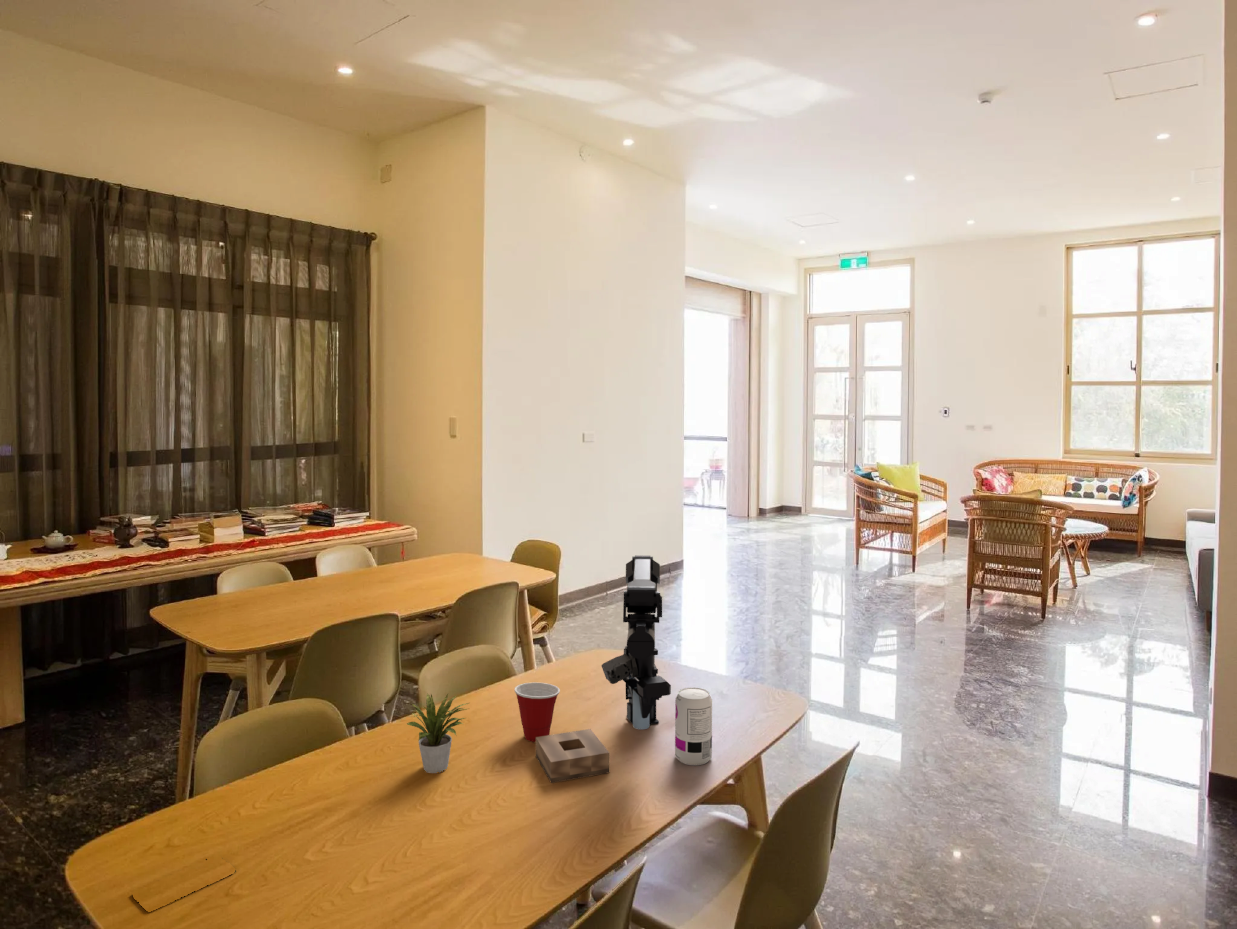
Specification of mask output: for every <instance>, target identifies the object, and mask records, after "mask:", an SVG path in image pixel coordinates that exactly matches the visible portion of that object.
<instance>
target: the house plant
mask: <svg viewBox="0 0 1237 929" xmlns="http://www.w3.org/2000/svg"><path fill="white" fill-rule="evenodd" d="M457 696H458V695H457V694H456V695H454V696H452V697H451V698H450V699H448V697H449V693H447V695H446V696H445V697H444V698H443V700H442V701H441V703H440V704H439V707H438V708H437V711H436V704H435V702H434V697H433V695H432V693H430V694H429V693H426V699H425V700H426V707H425V706H423V708H424V709H425V710H426V715H425V713H424V712H423V711H422V709H421V708H420V707H419V706H417V705H416V704H414V703H413V704H412V703H411V705H412V707H413V708H415V711H416V712H417V714H415V713H413V712H412V713H411V714H412V715H413V718H415V717H416V718H417V719H418V721H420V722H421V723H422V724H423V725H421V724H419V723H418V722H416V721H409V722H407V723H406V726H407V725H408V726H412V727H414V728H418V729H419V730H421V731H419V733H418V748H419V751H420V757H421V761H422V762H421V763H422V767H423V770H425V771H426V772H425V771H424V772H425V773H428V774H438V773H437V772H439V773H442V772H444V771H446V770H447V769H448V768H449V762H450V754H451V747H452V736H451V735H450V734H448V732H450V733H453V734H454V735H455V736H457V732H456V729H455V728H453V727H455V726H459V725H464V722H461V721H462V720H465V719H466V717H462V718H458V717H452V715H454V714H456V713H458V712H461V711H467V710H470V708H464V707H462V706H466V705H468V704H470V702H468V703H462V704H460V705H459V704H458V705H457V706H455V707H454V708H452V709H451V710H450V708H451V707H452V704H453V702H454V700H455V699H456V697H457ZM447 699H448V701H447ZM419 716H420V717H421V718H419ZM451 717H452V718H451ZM452 721H453V722H452ZM447 767H448V768H447ZM445 769H446V770H445ZM443 770H444V771H443ZM441 771H442V772H441Z"/></svg>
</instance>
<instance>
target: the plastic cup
mask: <svg viewBox="0 0 1237 929" xmlns="http://www.w3.org/2000/svg"><path fill="white" fill-rule="evenodd" d="M560 692H561V689H560V688H559V687H558V686H557V685H554V684H552V683H546V682H536V681H534V682H525V683H522V684H518V685H516V686H514V693H515V695H516V699H517V703H518V709H519V714H520V722H521V726H522V730H523V736H524V739H525V740H527V741H528V742H532V743H536V737H540V736H547V735H551V734H550V732H551V727H552V726H551V725H552V722H553V718H554V717H553V716H554V710H555V704H556V700H557V698H558V695H559V694H560Z"/></svg>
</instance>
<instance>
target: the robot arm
mask: <svg viewBox="0 0 1237 929" xmlns="http://www.w3.org/2000/svg"><path fill="white" fill-rule="evenodd" d="M625 584H627V587H626V590H624V591H623V606H622V607H623V608H622V609H623V611H622V612H623V613H622V622H623V623H627V638H626V645H625V646H624V648H623V654H621V655H619V656H618V655H617V656H615V657H613V658H612V659H609V660H608V661H606V662H604V663H602V664H601V669H602V671H603V672H602V673H603V674H604V677H605V679H606V680H607V681H608V682H609V683H610V684H612V685H614V684H617V683H619V682H621V681H623V682H624V683H625V700H626V701H628V702H627V703H626V719H627V720H628V721H629V722H630V724H632V725H633V691H634V692H636V693H637V694H638V695H639V701H640V709H641V715H642V718H647V717H648V715H649V713H650V715H649V726H650V725H656V724H657V725H658V724H659V723H660V720H658V719H657V701H660V699H661V698H663V697H665V696H670V695H671V694H672V691H671V690H672V685H671V684H670V683H669V682H668V681H667V680H666V679H665V678H663V677H662V676H660V675H657V674H659V669H658V668H657V666H656V663H655V657H656V656H658V655H659V650H658V649H657V648H656V636H655V634H656V632H655V631H656V629H655V628H656V623H657V624H659V623H660V618H663V596H662V595H661V592H660V591H658V587H657V586H658V585H660V584H661V565H660V563H659V562H657V561H656V560H654V556H651V555H634V556H632V559H631V560H630V561H628V562H627V563H626V564H625ZM636 687H637V688H636ZM634 688H635V689H634Z"/></svg>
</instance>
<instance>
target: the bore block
mask: <svg viewBox="0 0 1237 929" xmlns="http://www.w3.org/2000/svg"><path fill="white" fill-rule="evenodd" d="M535 757H536V759H537V761H538V763H539V764H540V766H541V768H542V770H543V771H544V774H545V775H546V776H547V778H548V780H549V781H550V783H551V784H554V783H559V782H564V781H570V780H575V779H583V778H586V777H587V778H588V777H593V776H599V775H605V774H610V752H609V750H608V749H607V748H606V746H605V744H603V742H602V741H601V740H600V739H599V738H598V736H597V735H596V733H594V731H593V730H592V728H588V729H581V730H575V731H567V732H561V733H554V734H549V735H547V736H540V737H536V742H535Z"/></svg>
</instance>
